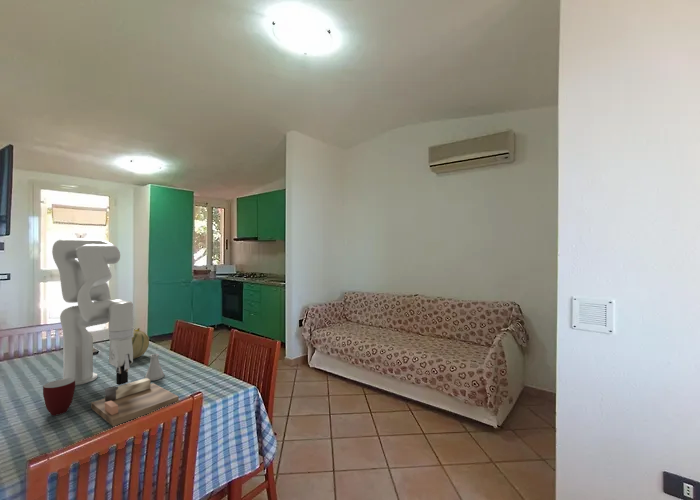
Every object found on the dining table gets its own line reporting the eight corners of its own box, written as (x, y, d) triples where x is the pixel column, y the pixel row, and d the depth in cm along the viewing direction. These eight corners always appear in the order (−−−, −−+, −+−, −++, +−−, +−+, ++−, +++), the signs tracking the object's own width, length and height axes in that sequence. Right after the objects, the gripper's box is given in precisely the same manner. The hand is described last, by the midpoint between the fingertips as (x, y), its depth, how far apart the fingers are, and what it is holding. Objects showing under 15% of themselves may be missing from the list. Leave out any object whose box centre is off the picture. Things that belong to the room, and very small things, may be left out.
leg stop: (104, 409, 106) (104, 402, 106) (111, 407, 108) (111, 400, 108) (111, 415, 103) (111, 407, 103) (118, 412, 104) (118, 405, 104)
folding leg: (107, 402, 111) (107, 391, 111) (103, 399, 113) (103, 389, 113) (150, 388, 122) (150, 378, 122) (146, 386, 124) (146, 376, 124)
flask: (155, 382, 134) (155, 358, 134) (140, 380, 135) (140, 357, 135) (168, 375, 141) (168, 352, 141) (154, 374, 142) (154, 351, 142)
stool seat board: (91, 408, 111) (91, 402, 111) (153, 388, 127) (153, 383, 127) (112, 426, 100) (113, 420, 100) (178, 401, 116) (178, 396, 116)
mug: (38, 412, 109) (38, 382, 109) (69, 402, 115) (69, 375, 116) (46, 421, 103) (46, 390, 103) (78, 411, 109) (78, 381, 109)
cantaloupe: (109, 359, 162) (109, 330, 162) (141, 352, 174) (141, 324, 174) (121, 365, 153) (121, 334, 154) (154, 357, 165) (154, 328, 166)
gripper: (102, 334, 123) (103, 382, 122) (117, 339, 114) (118, 391, 113) (125, 330, 129) (125, 376, 128) (141, 334, 120) (141, 384, 120)
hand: (122, 383), depth 121 cm, fingers closed
